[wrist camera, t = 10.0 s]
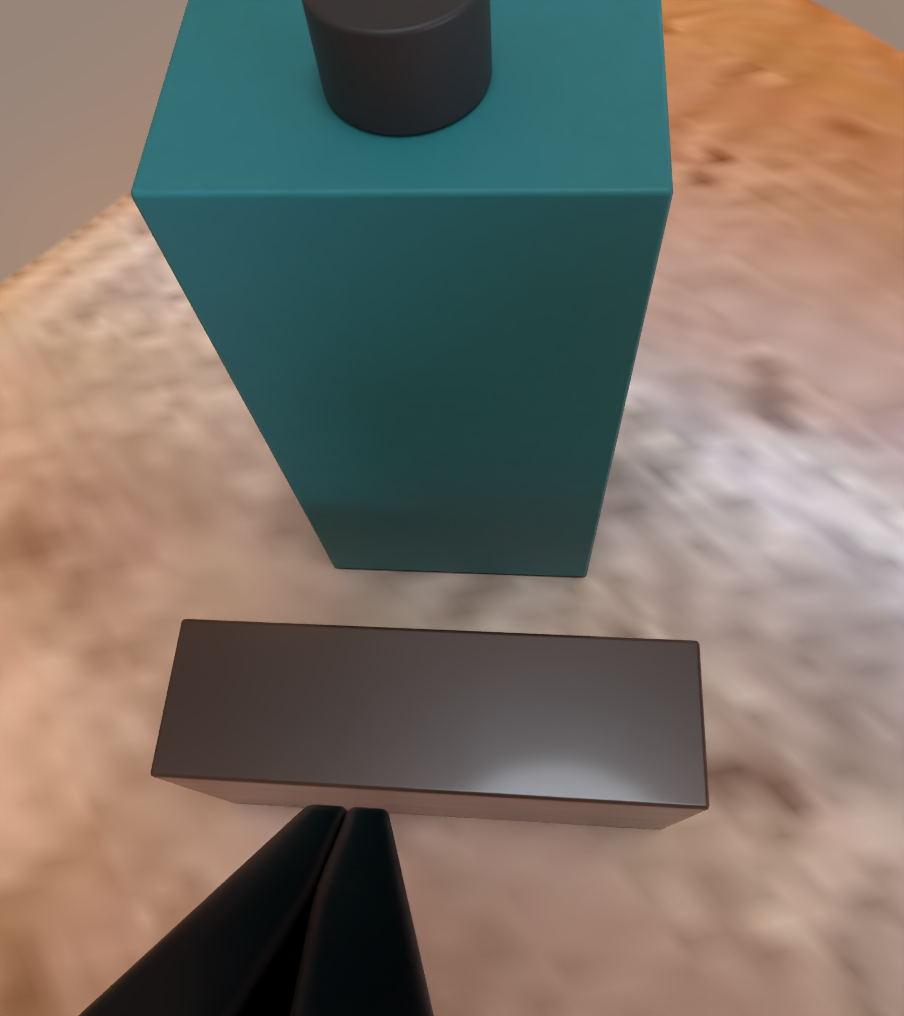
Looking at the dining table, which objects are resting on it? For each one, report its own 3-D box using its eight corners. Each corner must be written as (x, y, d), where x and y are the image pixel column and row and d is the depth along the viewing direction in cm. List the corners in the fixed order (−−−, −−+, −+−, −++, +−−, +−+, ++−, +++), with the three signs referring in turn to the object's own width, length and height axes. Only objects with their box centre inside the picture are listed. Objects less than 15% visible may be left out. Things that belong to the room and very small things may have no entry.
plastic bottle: (600, 790, 16) (711, -100, 8) (268, 771, 17) (62, -79, 9) (581, 501, 24) (626, -91, 16) (357, 494, 25) (293, -80, 17)
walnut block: (663, 830, 19) (710, 809, 14) (232, 803, 20) (148, 776, 15) (657, 696, 20) (699, 639, 15) (253, 677, 21) (180, 617, 16)
